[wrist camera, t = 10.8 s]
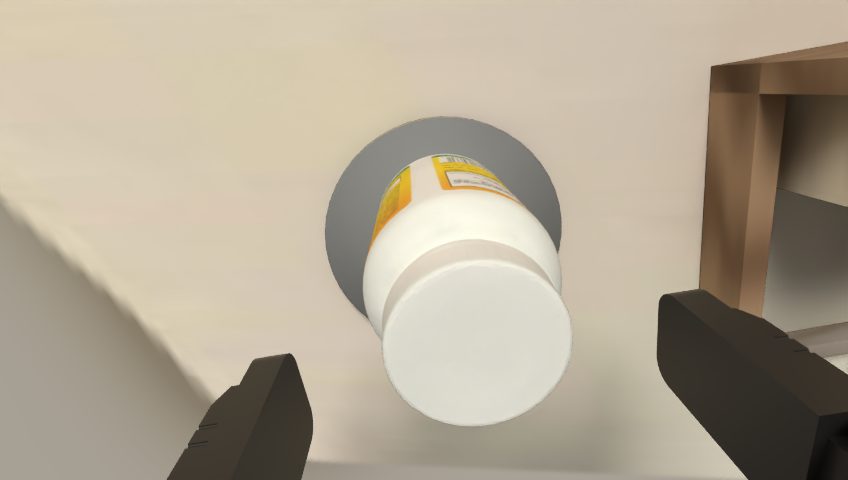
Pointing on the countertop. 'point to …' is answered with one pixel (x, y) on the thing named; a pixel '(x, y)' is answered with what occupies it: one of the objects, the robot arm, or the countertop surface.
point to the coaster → (401, 147)
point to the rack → (771, 168)
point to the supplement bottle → (465, 294)
